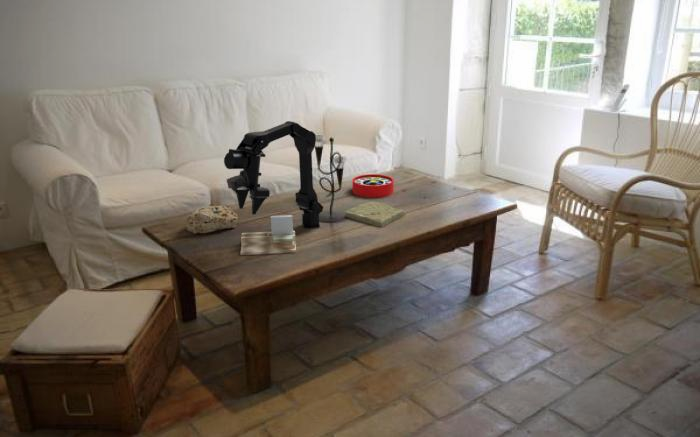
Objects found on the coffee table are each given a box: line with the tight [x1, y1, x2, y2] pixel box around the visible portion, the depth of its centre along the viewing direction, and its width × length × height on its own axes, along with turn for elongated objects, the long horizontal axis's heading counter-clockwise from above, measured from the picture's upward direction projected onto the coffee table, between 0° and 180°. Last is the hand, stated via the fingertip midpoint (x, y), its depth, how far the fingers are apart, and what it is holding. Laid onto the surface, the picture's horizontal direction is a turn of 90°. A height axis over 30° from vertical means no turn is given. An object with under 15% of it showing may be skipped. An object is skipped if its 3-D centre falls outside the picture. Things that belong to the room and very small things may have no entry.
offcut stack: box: [270, 235, 296, 249], centre depth 212 cm, size 9×4×4 cm, turn 96°
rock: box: [186, 204, 239, 234], centre depth 233 cm, size 21×14×10 cm
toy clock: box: [352, 173, 395, 198], centre depth 278 cm, size 20×6×20 cm
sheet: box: [270, 214, 294, 236], centre depth 216 cm, size 8×2×10 cm, turn 96°
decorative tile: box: [344, 200, 405, 228], centre depth 246 cm, size 19×20×4 cm
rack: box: [240, 230, 297, 256], centre depth 215 cm, size 20×14×4 cm
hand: (247, 211), depth 208 cm, fingers open, 9 cm apart
